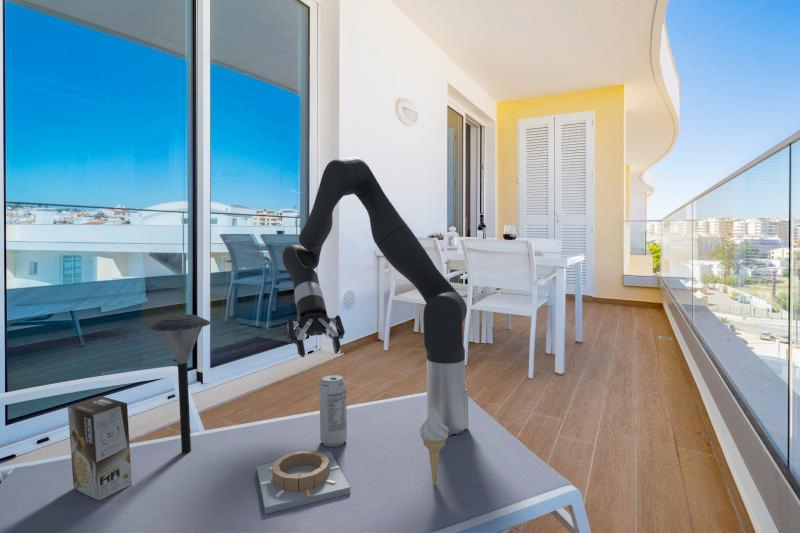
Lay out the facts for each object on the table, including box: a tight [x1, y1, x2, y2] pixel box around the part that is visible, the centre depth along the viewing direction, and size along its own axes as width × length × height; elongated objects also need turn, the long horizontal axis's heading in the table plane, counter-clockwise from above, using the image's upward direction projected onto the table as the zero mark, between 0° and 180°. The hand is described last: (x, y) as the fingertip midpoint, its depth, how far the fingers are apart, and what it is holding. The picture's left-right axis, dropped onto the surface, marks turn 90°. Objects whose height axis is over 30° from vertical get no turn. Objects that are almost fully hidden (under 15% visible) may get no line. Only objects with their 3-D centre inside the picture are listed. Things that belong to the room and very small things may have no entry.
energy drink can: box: [318, 374, 348, 448], centre depth 102 cm, size 6×6×15 cm
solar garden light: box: [148, 313, 212, 454], centre depth 98 cm, size 12×12×30 cm
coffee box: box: [67, 395, 133, 501], centre depth 85 cm, size 9×6×16 cm
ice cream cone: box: [419, 407, 449, 485], centre depth 84 cm, size 6×6×15 cm
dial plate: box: [256, 449, 351, 515], centre depth 86 cm, size 15×15×4 cm
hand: (320, 353), depth 112 cm, fingers open, 8 cm apart
